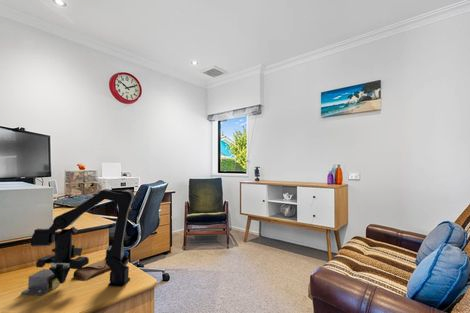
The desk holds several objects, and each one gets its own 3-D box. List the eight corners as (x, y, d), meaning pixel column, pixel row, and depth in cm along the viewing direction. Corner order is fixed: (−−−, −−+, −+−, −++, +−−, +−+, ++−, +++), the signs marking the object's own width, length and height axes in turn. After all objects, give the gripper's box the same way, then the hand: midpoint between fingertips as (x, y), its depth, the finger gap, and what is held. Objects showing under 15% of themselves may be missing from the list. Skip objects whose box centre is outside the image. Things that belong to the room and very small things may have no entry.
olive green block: (59, 285, 99) (60, 277, 99) (52, 290, 95) (52, 281, 95) (46, 284, 100) (47, 275, 100) (38, 289, 96) (39, 280, 96)
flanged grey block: (65, 280, 103) (66, 267, 103) (40, 295, 91) (41, 281, 91) (48, 279, 104) (49, 266, 104) (21, 294, 92) (21, 279, 92)
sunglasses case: (84, 281, 102) (80, 266, 104) (75, 286, 105) (71, 272, 106) (120, 265, 118) (116, 252, 120) (112, 270, 121) (108, 257, 122)
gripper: (97, 239, 105) (97, 274, 104) (58, 237, 106) (57, 272, 106) (79, 248, 94) (78, 288, 93) (35, 246, 95) (34, 285, 95)
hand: (62, 283), depth 97 cm, fingers closed
